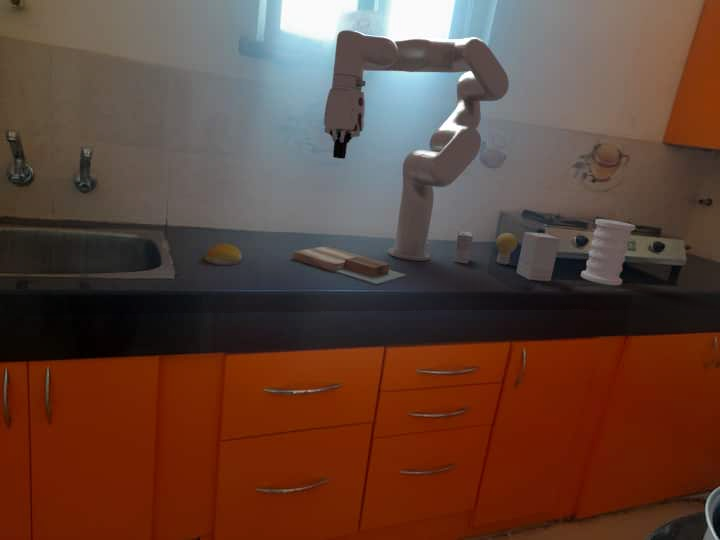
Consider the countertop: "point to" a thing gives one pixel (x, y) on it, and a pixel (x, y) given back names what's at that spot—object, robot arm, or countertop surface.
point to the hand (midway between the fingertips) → (339, 157)
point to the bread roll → (223, 255)
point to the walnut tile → (366, 266)
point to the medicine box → (463, 247)
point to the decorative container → (608, 252)
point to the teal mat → (376, 280)
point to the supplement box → (537, 256)
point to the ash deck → (324, 257)
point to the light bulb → (505, 247)
